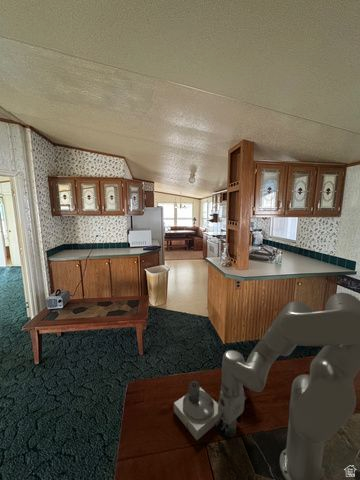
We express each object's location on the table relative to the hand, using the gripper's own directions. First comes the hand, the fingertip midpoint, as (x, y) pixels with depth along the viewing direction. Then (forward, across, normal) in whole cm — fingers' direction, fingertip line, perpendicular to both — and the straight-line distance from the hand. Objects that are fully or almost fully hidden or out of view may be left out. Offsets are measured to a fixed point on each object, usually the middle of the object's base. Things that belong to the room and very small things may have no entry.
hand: (229, 427), depth 79 cm
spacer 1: (-4, -5, +14) cm, 16 cm away
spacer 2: (+2, 0, 0) cm, 2 cm away
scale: (+2, -5, +12) cm, 13 cm away
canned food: (+2, +17, +8) cm, 19 cm away
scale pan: (-3, -5, +12) cm, 13 cm away
